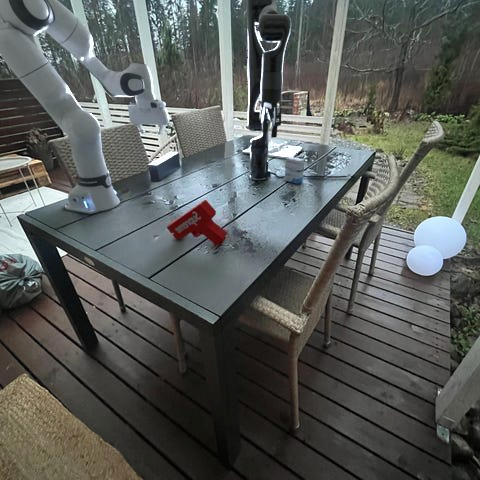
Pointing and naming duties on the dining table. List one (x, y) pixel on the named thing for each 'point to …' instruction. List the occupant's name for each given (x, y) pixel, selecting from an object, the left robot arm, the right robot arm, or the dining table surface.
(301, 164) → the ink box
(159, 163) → the bar
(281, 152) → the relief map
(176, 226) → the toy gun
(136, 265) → the dining table surface
